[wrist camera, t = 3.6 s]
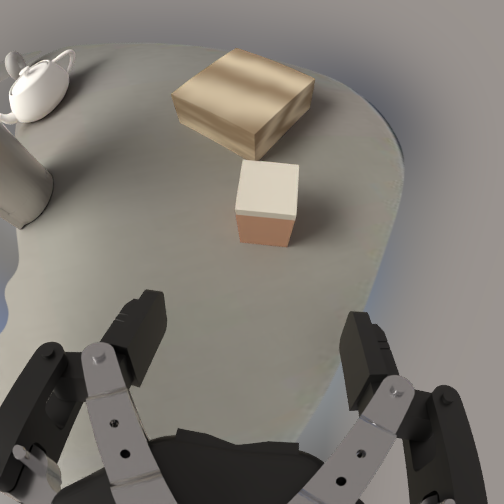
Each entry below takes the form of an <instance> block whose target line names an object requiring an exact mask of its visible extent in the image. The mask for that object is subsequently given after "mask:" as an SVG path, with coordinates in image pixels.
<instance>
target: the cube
mask: <svg viewBox="0 0 504 504" xmlns="http://www.w3.org/2000/svg"><path fill="white" fill-rule="evenodd" d="M298 175H299V165H293V164H284V163H274V162H264V161H252V160H243V161H242V168H241V174H240V180H239V186H238V192H237V199H236V205H235V213H236V219H237V225H238V231H239V237H240V242H242V243H252V244H261V245H271V246H281V247H287V246H288V243H289V239H290V236H291V232H292V229H293V226H294V222H295V219H296V213H297V196H298Z"/></svg>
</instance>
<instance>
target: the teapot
mask: <svg viewBox="0 0 504 504" xmlns="http://www.w3.org/2000/svg"><path fill="white" fill-rule="evenodd" d="M67 54H70V64H69V66H68V69H67V70H66V71H65V70H64V69H63V68H62V67H61V66H59V65H58V64H56V62H57V61H58V60H59V59H61V58H62V57H63V56H65V55H67ZM74 62H75V52H74V51H73V50H71V49H70V50H66V51H65V52H63V53H61V54H60V55H59V56H57V57H56V58H55V59H53V60H52V61H50V60H43V61H40V62H38V63H36V64H35V65H33V66H32V67H30V68H29V66H26V67H25V68H23V69H22V70H21V71H20V73H19V75H20V77H19V78H18V79H17V80H16V82H15V83H14V84H13V86H12V87H11V89H10V92H9V99H10V105H11V109H12V112H11V113H9V114H6V115H4V114H1V113H0V121H1V122H3V123H6V124H14V123H17V122H18V121H19V122H22V123H28V122H33V121H37V120H39V119H41V118H43V117H45V116H46V115H47V114H49V113H50V112H51V111H52V110H53V109H54V108H55V107H56V106H57V105H58V104H59V103H60V102H61V100H62V99H63V97H64V96H65V93H66V90H67V88H68V85H69V76H68V75H69V73H70V71H71V70H72V68H73V65H74Z"/></svg>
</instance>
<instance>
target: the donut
mask: <svg viewBox="0 0 504 504" xmlns="http://www.w3.org/2000/svg"><path fill="white" fill-rule="evenodd" d="M5 66H6V69H7V71H8V73H9V75H10V76H11V77H12V78H13V79H15V80H17V79H18V78H19V77H20V75H19V73H20V71H21V70H22V69H23V68H25V67H26V63H25V61H24V59H23V57H22V56H21V54H19V53H18V52H16V51H12V52H10V53H9V54H8V55H7V56H6V59H5Z"/></svg>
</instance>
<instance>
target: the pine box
mask: <svg viewBox="0 0 504 504" xmlns="http://www.w3.org/2000/svg"><path fill="white" fill-rule="evenodd" d="M314 83H315V78H312V77H310V76H308V75H306V74H304V73H301V72H299V71H297V70H294V69H292V68H290V67H287V66H285V65H282V64H280V63H277V62H275V61H272V60H270V59H267V58H264V57H262V56H259V55H256V54H253V53H250V52H247V51H244V50H241V49H238V48H236V49H234V50H232V51H231V52H229V53H228V54H226V55H224V56H223V57H221V58H220V59H218V60H217V61H215V62H214V63H212V64H211V65H210V66H208V67H207V68H205V69H204V70H202V71H201V72H200V73H198V74H197V75H195V76H194V77H193V78H191V79H190V80H189V81H187V82H186V83H185V84H183V85H182V86H181V87H179V88H178V89H177V90H176V91H174V92H173V93H172V94H171V96H172V99H173V102H174V106H175V109H176V112H177V115H178V118H179V121H180V123H181V124H183V125H185V126H187V127H189V128H191V129H193V130H195V131H196V132H198V133H200V134H202V135H204V136H206V137H208V138H209V139H211V140H213V141H215V142H217V143H218V144H220V145H222V146H224V147H225V148H227V149H229V150H231V151H232V152H234V153H236V154H238V155H239V156H241V157H243V158H244V159H246V160H252V161H259V160H260V159H261V158H262V157H263V156H264V155H265V154H266V153H267V151H268V150H269V149H270V148H271V147H272V146H273V145H274V144H275V143H276V142H277V141H278V140H279V139H280V138H281V137H282V136H283V135H284V134H285V133H286V132H287V131H288V130H289V129H290V128H291V127H292V126H293V125H294V124H295V123H296V122H297V121H298V120H299V119H300V117H301V116H302V115H303V114H304V113H306V112H307V111H308V110H309V109H310V105H311V99H312V94H313V89H314Z"/></svg>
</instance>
